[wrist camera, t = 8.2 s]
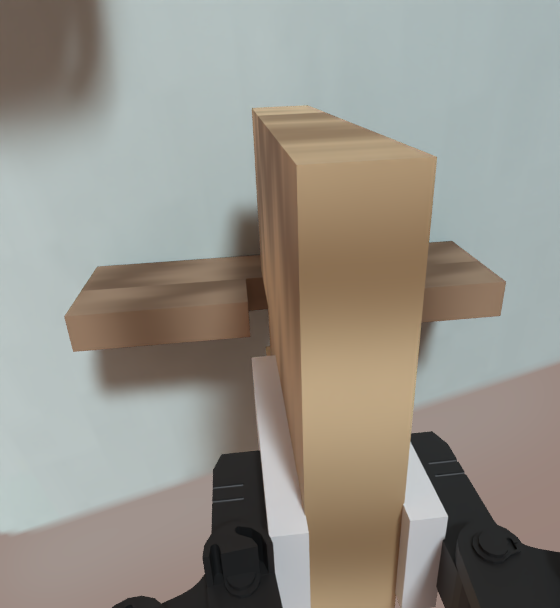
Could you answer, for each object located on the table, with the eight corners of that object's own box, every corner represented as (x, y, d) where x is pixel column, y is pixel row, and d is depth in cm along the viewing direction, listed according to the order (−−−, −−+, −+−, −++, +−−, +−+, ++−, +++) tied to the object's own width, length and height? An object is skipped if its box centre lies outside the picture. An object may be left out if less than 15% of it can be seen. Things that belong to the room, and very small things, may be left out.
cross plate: (312, 451, 25) (381, 748, 14) (272, 455, 24) (310, 758, 14) (307, 105, 18) (437, 156, 7) (251, 108, 18) (296, 165, 7)
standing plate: (452, 241, 26) (505, 281, 21) (448, 269, 26) (500, 315, 21) (97, 266, 24) (64, 316, 19) (103, 296, 25) (73, 351, 20)
